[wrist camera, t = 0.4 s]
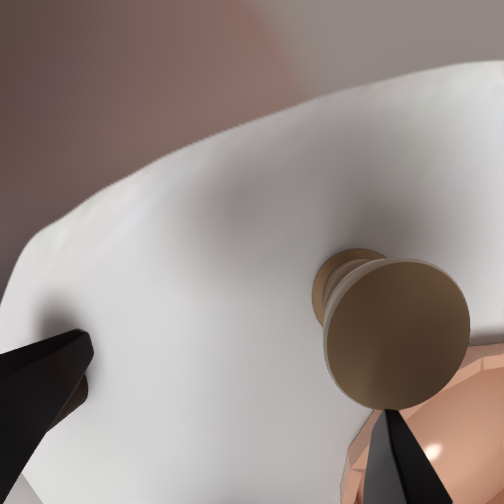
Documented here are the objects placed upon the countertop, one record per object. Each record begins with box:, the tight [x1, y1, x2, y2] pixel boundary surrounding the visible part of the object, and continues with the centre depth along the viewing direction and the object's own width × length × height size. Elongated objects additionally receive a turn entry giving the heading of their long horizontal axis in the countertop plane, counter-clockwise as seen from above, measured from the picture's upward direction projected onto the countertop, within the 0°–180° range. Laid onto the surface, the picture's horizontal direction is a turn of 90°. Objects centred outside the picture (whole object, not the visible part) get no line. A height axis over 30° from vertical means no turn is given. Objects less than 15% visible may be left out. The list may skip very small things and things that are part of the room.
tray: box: [340, 343, 504, 504], centre depth 18 cm, size 22×22×3 cm
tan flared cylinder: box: [312, 249, 470, 411], centre depth 15 cm, size 6×6×13 cm
